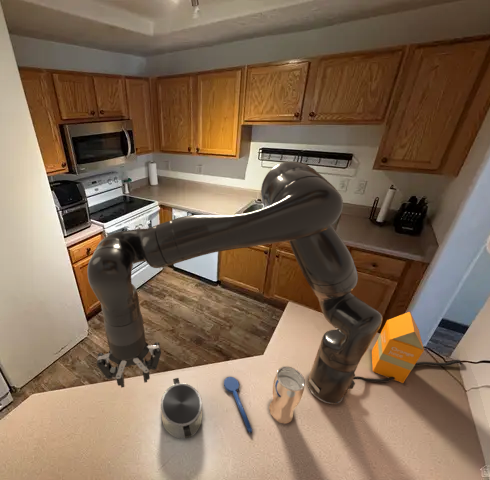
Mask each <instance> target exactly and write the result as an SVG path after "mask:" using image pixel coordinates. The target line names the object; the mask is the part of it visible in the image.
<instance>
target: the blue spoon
mask: <svg viewBox="0 0 490 480" xmlns="http://www.w3.org/2000/svg"><path fill="white" fill-rule="evenodd" d="M223 387H224V389H225V390H226V391H227V392H228V393H231V394H232V395H233V397H234V400H235V403H236V406H237V407H238V410H239V413H240V415H241V417H242V419H243V423H244V425H245V427H246V430H247V432H248V433H252V432H253V427H252V426H251V423H250V420H249V418H248V416H247V413H246V410H245V408H244V406H243V404H242V401H241V399H240V397H239V394H238V390H239V387H240V382H239V381H238V379H236V378H235V377H234V376H228V377H226V378H225V379H224V380H223Z"/></svg>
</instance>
